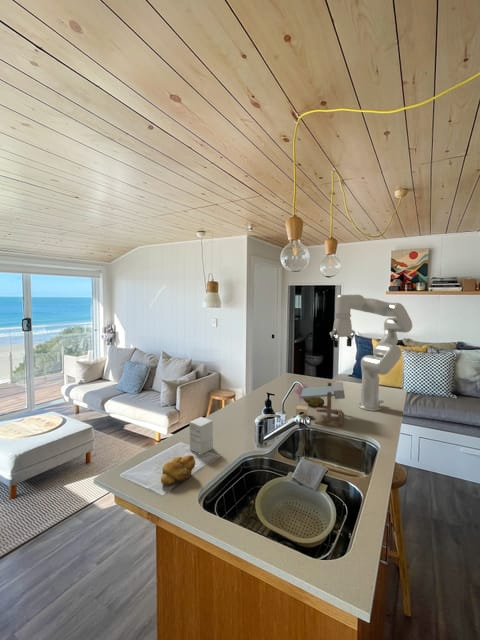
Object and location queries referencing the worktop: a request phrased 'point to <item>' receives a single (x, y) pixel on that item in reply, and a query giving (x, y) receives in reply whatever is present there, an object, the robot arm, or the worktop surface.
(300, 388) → the lily
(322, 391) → the trapdoor
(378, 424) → the worktop surface
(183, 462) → the bread roll
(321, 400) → the potato
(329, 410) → the stand
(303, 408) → the tan block
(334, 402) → the worktop surface
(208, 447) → the supplement box
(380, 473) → the worktop surface
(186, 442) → the worktop surface
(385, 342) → the robot arm
